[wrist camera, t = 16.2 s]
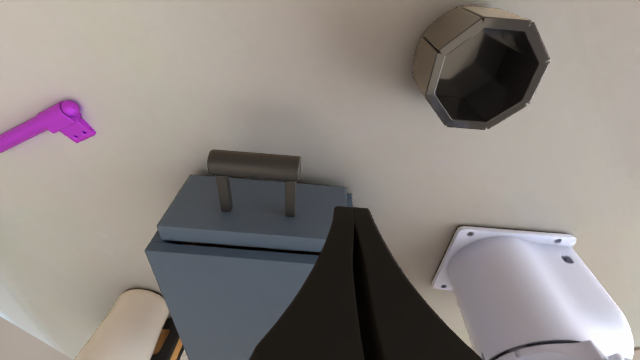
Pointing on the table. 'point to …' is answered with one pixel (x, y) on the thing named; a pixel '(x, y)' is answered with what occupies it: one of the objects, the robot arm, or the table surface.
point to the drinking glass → (128, 328)
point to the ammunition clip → (168, 343)
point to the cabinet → (225, 293)
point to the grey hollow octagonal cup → (479, 65)
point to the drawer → (252, 206)
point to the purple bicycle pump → (50, 125)
